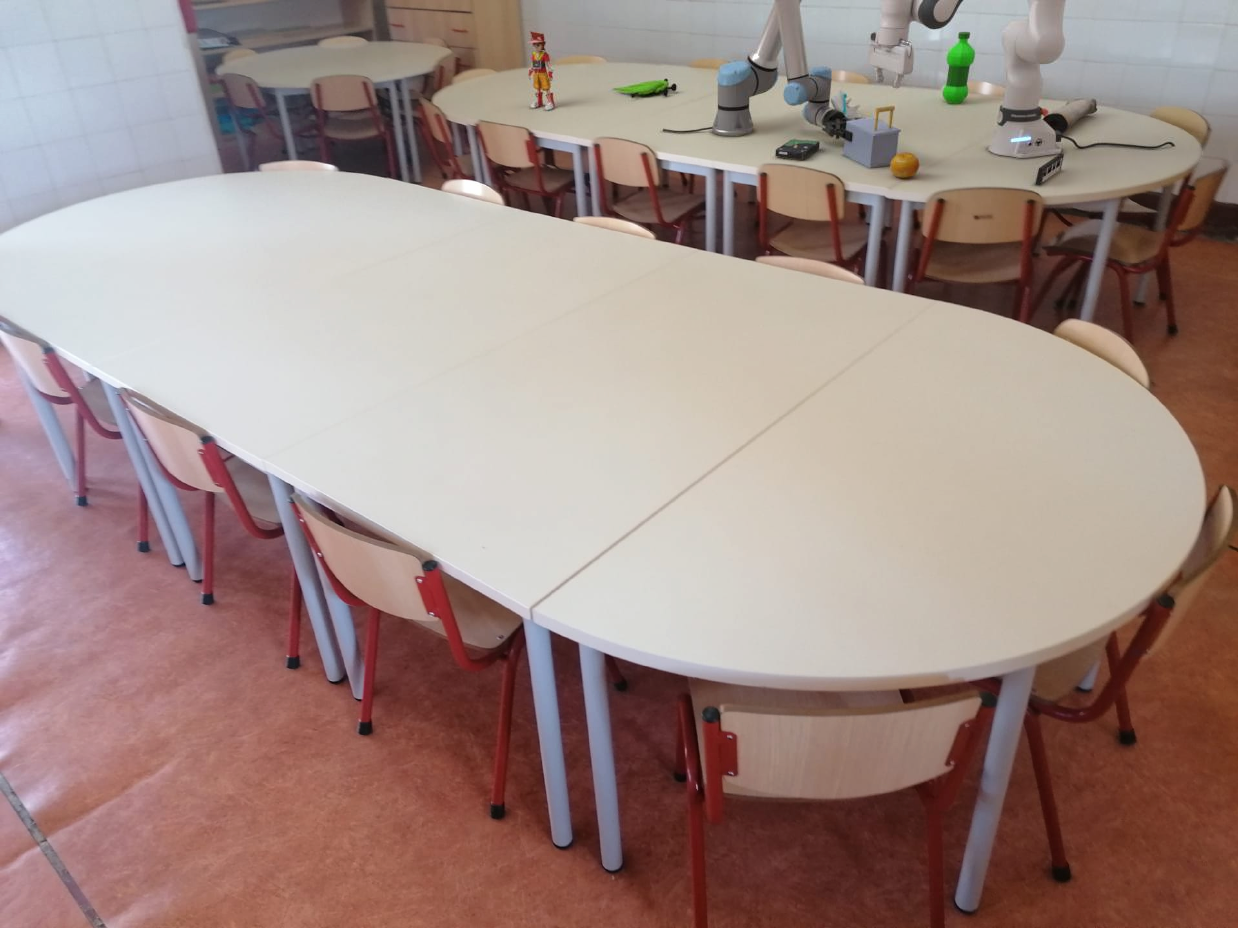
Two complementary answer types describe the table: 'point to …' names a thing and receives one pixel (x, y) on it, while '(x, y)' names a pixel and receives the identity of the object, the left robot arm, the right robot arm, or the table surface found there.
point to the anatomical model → (845, 106)
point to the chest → (871, 147)
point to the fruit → (904, 165)
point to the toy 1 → (541, 71)
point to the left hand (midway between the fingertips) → (864, 135)
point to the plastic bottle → (958, 69)
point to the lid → (876, 123)
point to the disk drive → (797, 149)
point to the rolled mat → (1070, 113)
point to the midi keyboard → (1049, 169)
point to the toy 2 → (648, 88)
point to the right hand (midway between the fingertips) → (887, 85)
